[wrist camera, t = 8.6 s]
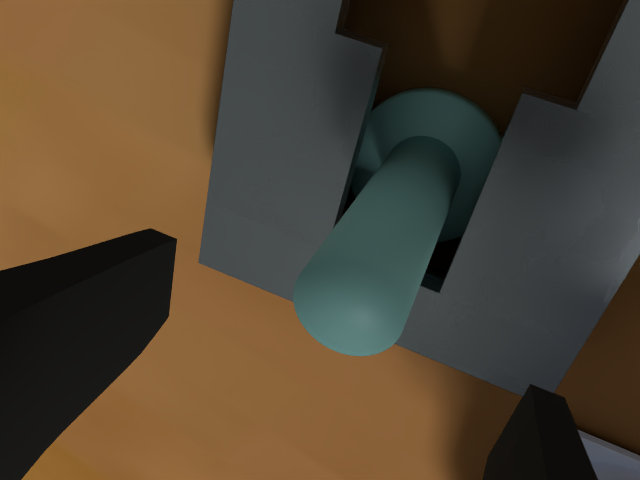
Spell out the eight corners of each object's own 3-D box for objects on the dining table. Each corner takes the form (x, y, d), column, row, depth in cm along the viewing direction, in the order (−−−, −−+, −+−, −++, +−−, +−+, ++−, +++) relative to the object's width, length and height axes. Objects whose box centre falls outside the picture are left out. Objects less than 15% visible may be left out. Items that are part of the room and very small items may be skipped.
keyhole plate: (547, 340, 21) (545, 406, 18) (242, 221, 23) (198, 262, 20) (868, -221, 12) (960, -265, 9) (338, -326, 14) (285, -386, 12)
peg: (468, 254, 20) (417, 439, 13) (336, 197, 21) (219, 342, 14) (535, 123, 18) (519, 262, 10) (381, 63, 18) (265, 153, 11)
